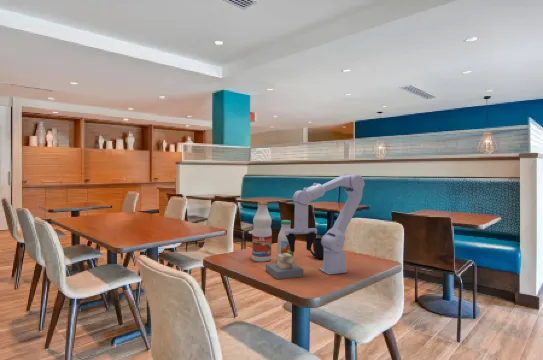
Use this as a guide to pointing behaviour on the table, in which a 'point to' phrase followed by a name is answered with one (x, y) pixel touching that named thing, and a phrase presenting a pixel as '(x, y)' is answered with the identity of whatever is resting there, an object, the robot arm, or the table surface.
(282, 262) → the maple cube
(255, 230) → the fruit juice
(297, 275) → the grey base
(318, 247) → the mug
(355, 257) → the table surface
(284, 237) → the milk bottle
